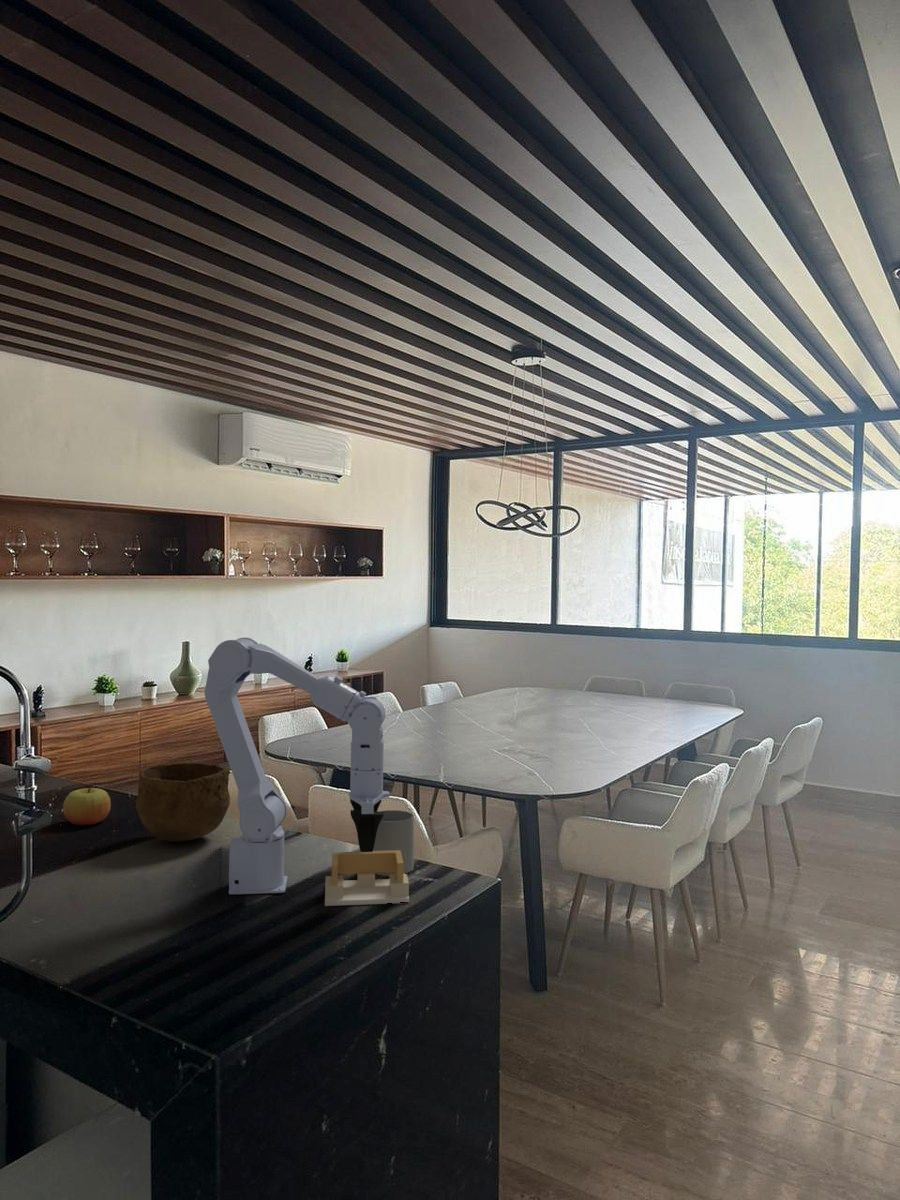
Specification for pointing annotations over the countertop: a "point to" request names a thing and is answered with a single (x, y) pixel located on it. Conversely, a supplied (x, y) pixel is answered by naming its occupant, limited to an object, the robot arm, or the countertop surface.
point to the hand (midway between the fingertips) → (365, 845)
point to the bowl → (182, 799)
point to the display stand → (366, 890)
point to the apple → (87, 806)
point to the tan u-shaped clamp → (367, 863)
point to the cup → (397, 837)
